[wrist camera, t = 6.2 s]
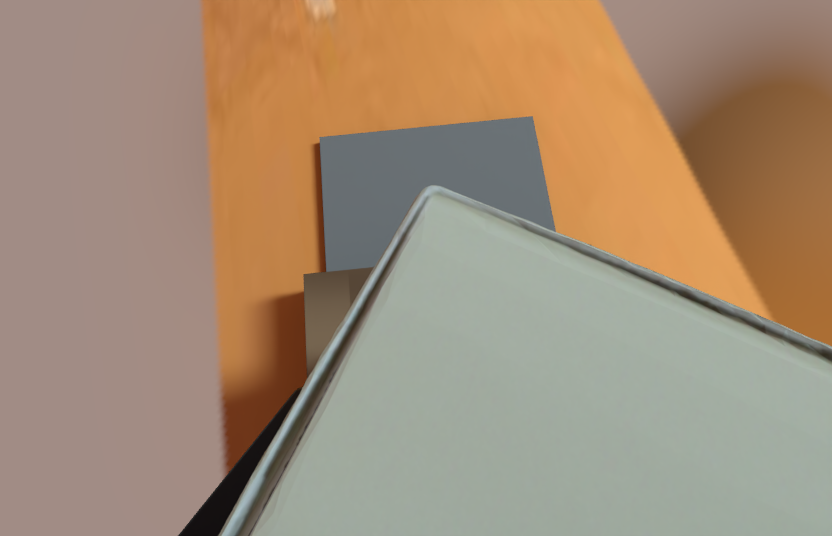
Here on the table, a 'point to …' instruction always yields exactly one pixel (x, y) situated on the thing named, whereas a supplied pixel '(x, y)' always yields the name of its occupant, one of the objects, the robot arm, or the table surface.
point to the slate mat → (424, 180)
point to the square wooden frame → (328, 306)
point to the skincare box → (544, 400)
